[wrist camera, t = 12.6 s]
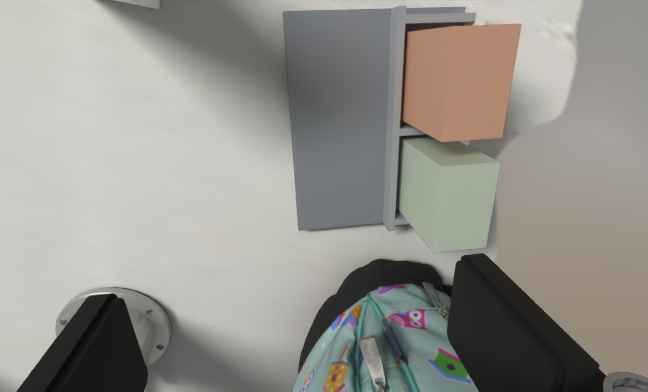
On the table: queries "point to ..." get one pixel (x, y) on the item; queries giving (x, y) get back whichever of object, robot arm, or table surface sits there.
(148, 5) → the milk
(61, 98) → the table surface
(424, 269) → the backpack
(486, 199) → the carton sage
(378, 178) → the shelf
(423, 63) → the carton rust
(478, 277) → the robot arm
